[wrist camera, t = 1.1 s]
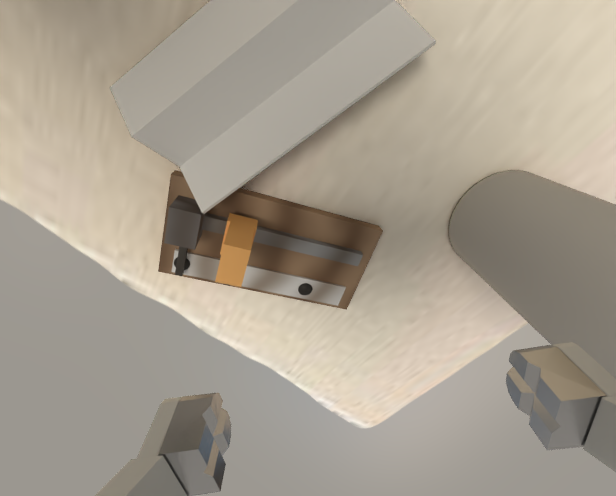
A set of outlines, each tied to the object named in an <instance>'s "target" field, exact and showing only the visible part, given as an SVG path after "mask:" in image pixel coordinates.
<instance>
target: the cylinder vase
mask: <svg viewBox="0 0 616 496" xmlns="http://www.w3.org/2000/svg"><path fill="white" fill-rule="evenodd" d="M449 238H450V242H451V245H452V247H453V249H454V250H455V252H456V253H457V254H458V255H459V256H460V257H461V258H462V259H463V260H464V261H465V262H466V263H467V264H468V265H469V266H470V267H471V268H472V269H473V270H474V271H475V272H476V273H477V274H478V275H479V276H480V277H481V278H483V279H484V280H485V281H486V282H487V283H488V284H489V285H490V286H491V287H492V288H493V289H494V290H495V291H496V292H497V293H498V294H499V295H500V296H501V297H502V298H503V299H504V300H505V301H506V302H507V303H508V304H510V305H511V306H512V307H513V308H514V309H515V310H516V311H517V312H518V313H519V314H520V315H521V316H522V317H523V318H524V319H525V320H526V321H527V322H528V323H529V324H530V325H531V326H532V327H533V328H535V330H537V331H538V332H539V333H540V334H541V335H542V336H543V337H544V338H545V339H546V340H547V341H548V342H549V343H550V344H551V345H555V344H562V343H569V342H573V343H575V344H577V345H579V346H580V347H581V348H582V349H583V350H584V351H585V352H587V353H588V354H589V355H590V356H591V357H592V358H593V359H594V360H595V361H597V362H598V363H599V364H600V365H601V366H602V367H603V368H604V369H605V370H606V371H608V372H609V373H610V374H611V375H612V376H613V377H614V378H615V379H616V205H615V204H612V203H610V202H607V201H604V200H602V199H599V198H596V197H594V196H591V195H588V194H586V193H583V192H580V191H578V190H575V189H572V188H570V187H567V186H564V185H561V184H559V183H556V182H553V181H551V180H548V179H545V178H543V177H540V176H537V175H535V174H532V173H529V172H526V171H519V170H510V171H504V172H499V173H496V174H493V175H491V176H489V177H487V178H485V179H483V180H481V181H480V182H478V183H477V184H475V185H474V186H473V187H472V188H471V189H469V190H468V191H467V192H466V193H465V195H464V196H463V197H462V198H461V200H460V201H459V202H458V204H457V206H456V207H455V209H454V211H453V214H452V216H451V220H450V225H449Z"/></svg>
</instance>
